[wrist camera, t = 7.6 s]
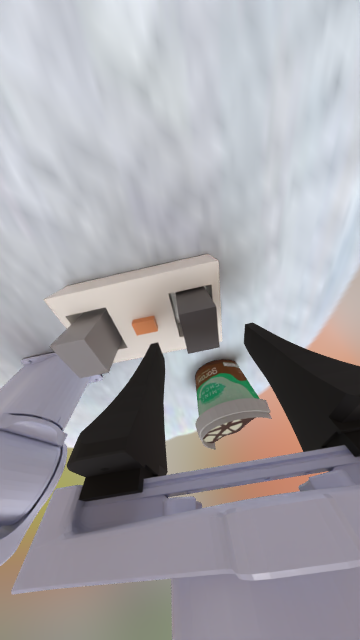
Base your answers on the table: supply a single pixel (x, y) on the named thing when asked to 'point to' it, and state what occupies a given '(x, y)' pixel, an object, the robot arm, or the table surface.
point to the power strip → (142, 303)
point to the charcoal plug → (89, 343)
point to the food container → (225, 401)
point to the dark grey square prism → (198, 319)
